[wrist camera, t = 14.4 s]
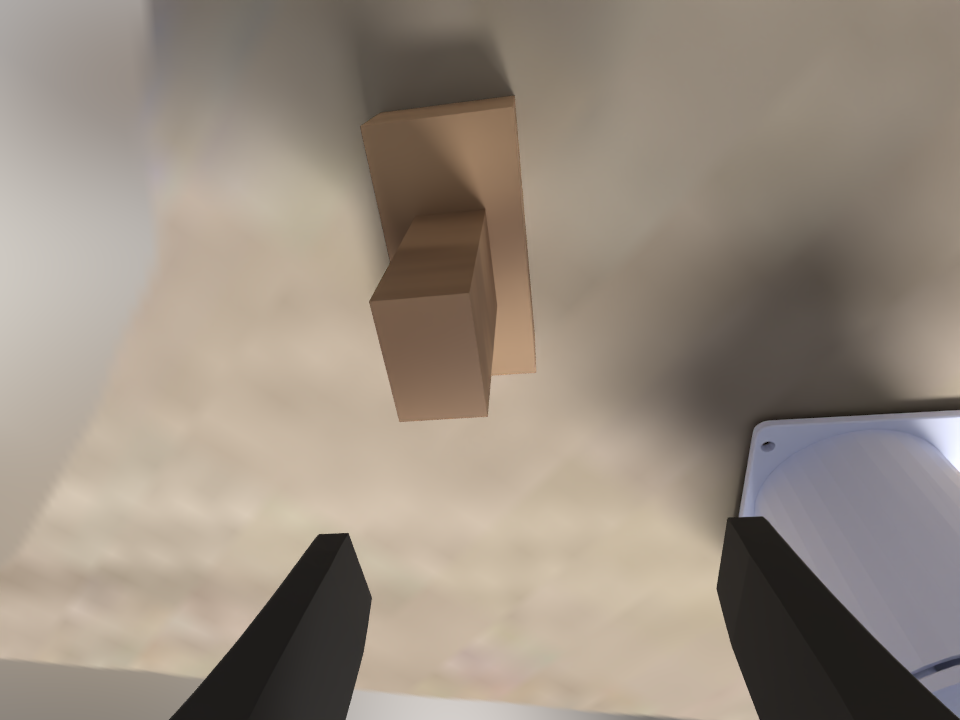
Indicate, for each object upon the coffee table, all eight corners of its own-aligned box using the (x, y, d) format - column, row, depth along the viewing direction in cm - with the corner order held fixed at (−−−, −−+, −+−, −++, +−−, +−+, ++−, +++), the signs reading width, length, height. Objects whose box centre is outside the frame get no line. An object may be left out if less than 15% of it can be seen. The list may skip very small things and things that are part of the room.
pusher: (534, 335, 20) (540, 496, 13) (427, 343, 21) (380, 502, 14) (514, 94, 16) (508, 152, 9) (380, 112, 17) (282, 178, 10)
